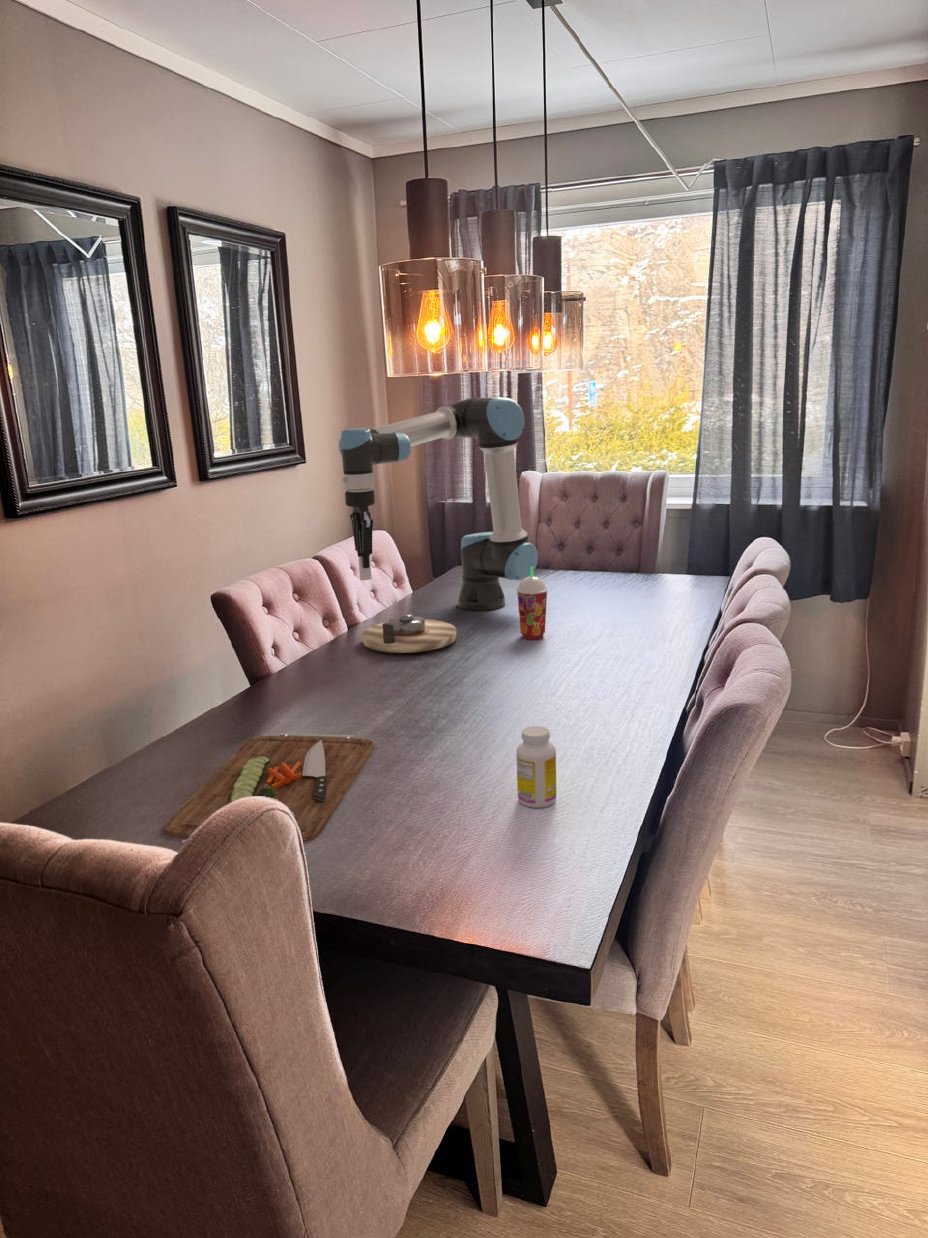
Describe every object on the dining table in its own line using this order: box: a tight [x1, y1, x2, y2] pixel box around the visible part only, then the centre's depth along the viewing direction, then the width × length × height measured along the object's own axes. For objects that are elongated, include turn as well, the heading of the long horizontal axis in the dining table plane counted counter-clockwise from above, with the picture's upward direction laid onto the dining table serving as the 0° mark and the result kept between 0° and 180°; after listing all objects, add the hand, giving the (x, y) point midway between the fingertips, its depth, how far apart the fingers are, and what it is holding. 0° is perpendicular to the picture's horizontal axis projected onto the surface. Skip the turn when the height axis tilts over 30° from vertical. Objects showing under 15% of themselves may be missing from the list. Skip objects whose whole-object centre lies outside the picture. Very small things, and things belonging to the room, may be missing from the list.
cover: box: [387, 613, 425, 636], centre depth 246 cm, size 10×10×4 cm
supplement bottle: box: [515, 725, 557, 809], centre depth 151 cm, size 7×7×13 cm
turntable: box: [361, 618, 458, 654], centre depth 245 cm, size 26×26×7 cm
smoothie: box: [516, 566, 548, 641], centre depth 245 cm, size 8×8×20 cm
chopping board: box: [164, 732, 375, 845], centre depth 163 cm, size 45×27×3 cm, turn 171°
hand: (365, 579), depth 235 cm, fingers closed
